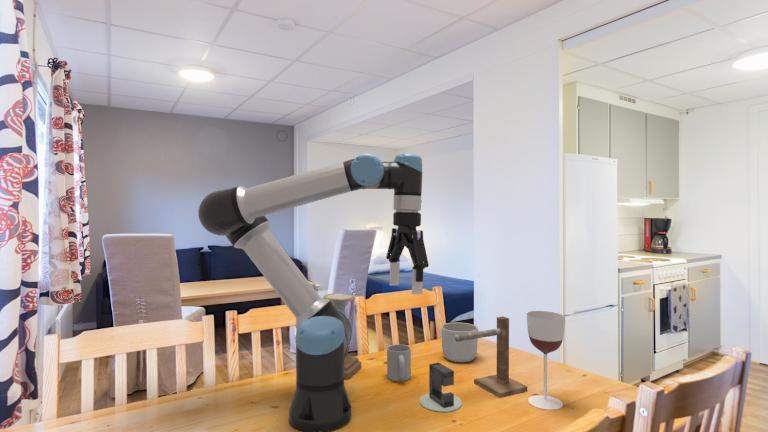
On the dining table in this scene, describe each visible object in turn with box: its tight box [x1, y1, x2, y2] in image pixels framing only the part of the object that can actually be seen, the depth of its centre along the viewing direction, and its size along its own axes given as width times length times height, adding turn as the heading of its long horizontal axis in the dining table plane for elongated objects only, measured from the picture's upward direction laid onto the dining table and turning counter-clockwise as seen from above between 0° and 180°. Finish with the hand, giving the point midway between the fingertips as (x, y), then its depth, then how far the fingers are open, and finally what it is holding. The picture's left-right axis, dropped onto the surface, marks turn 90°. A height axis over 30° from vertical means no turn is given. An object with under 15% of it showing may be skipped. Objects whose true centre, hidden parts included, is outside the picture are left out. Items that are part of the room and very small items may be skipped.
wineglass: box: [526, 310, 566, 410], centre depth 115 cm, size 9×10×23 cm
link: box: [428, 362, 455, 408], centre depth 114 cm, size 3×7×9 cm, turn 26°
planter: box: [440, 321, 479, 363], centre depth 149 cm, size 12×12×11 cm
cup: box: [386, 344, 412, 383], centre depth 131 cm, size 7×10×9 cm
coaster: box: [419, 392, 463, 413], centre depth 115 cm, size 11×11×1 cm
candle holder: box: [322, 292, 362, 380], centre depth 137 cm, size 11×11×24 cm
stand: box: [455, 316, 528, 399], centre depth 123 cm, size 20×11×20 cm, turn 116°
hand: (405, 289), depth 119 cm, fingers open, 13 cm apart
